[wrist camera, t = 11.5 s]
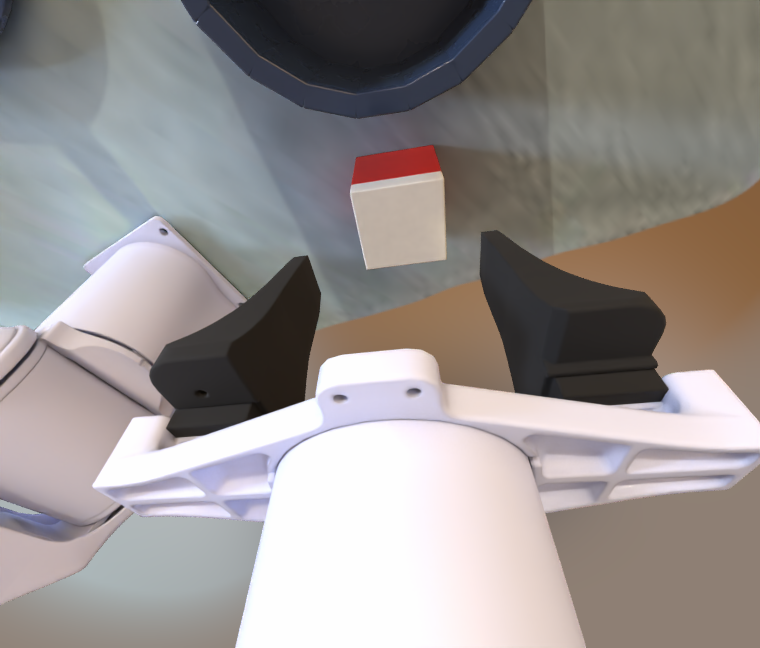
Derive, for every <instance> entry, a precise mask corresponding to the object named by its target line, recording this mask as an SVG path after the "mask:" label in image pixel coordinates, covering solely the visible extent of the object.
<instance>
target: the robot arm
mask: <svg viewBox="0 0 760 648" xmlns="http://www.w3.org/2000/svg"><path fill="white" fill-rule="evenodd" d="M163 229H166V230H167V231H168V233H167V232H165V231H164V230H163ZM84 269H85V270H86V271H87V272H88V273H89V274H91V275H92V276H91V277H90V278H89V279H88V280H87V281H86V282H85V283H84V284H82V285H81V286H80V287H79V288H78V289H77V290H76V291H75V292H74V293H73V294H72V295H71V296H70V297H69V298H68V299H67V300H66V301H65V302H64V303H62V304H61V305H60V306H59V307H58V308H57V309H56V310H55V311H54V312H53V313H52V314H51V315H50V316H49V317H48V318H47V319H46V320H45V321H44V322H42V323H41V324H40V325H39V326H38V327H37V328H36V329H35V330H32V329H31V328H29V327H27V326H24V325H18V326H14V327H0V499H1V500H4V501H7V502H10V503H13V504H16V505H19V506H21V507H24V508H27V509H30V510H33V511H36V512H39V513H41V514H34V515H32V514H24V513H18V512H15V511H12V510H9V509H6V508H2V507H0V605H2V604H4V603H6V602H9V601H11V600H13V599H15V598H18V597H21V596H23V595H25V594H28V593H30V592H33V591H35V590H37V589H40V588H43V587H45V586H48V585H50V584H52V583H55V582H57V581H59V580H62V579H64V578H66V577H68V576H71V575H73V574H75V573H77V572H79V571H81V570H82V569H84V568H85V567H86V566H87V565H88V563H89V562H90V561H91V559H92V558H93V557H94V555H95V554H96V553H97V552H98V550H99V549H100V548H101V547H102V545H103V544H104V543H105V541H107V539H108V538H109V537H110V536H111V535H112V534H113V533H114V531H115V530H116V529H117V528H118V527H119V526H120V525H121V524H122V523H123V522H124V521H125V520H126V519H128V518H129V517H130V516H131V515H132V514H133V513H136V514H138V515H139V516H141V517H154V516H155V517H159V516H177V517H181V516H182V517H202V518H217V519H230V520H242V521H254V522H265V523H264V527H263V531H262V535H261V540H260V544H259V548H258V553H257V557H256V561H255V566H254V570H253V574H252V579H251V583H250V587H249V592H248V596H247V600H246V605H245V609H244V614H243V617H242V622H241V627H240V630H239V635H238V639H237V643H236V648H586V645H585V642H584V639H583V635H582V632H581V629H580V626H579V622H578V619H577V616H576V612H575V609H574V606H573V603H572V599H571V596H570V593H569V589H568V586H567V583H566V580H565V576H564V573H563V570H562V567H561V563H560V560H559V557H558V554H557V550H556V547H555V544H554V540H553V537H552V534H551V531H550V527H549V524H548V521H547V518H546V515H545V513H551V512H557V511H562V510H570V509H576V508H582V507H588V506H594V505H600V504H606V503H613V502H619V501H625V500H631V499H638V498H645V497H652V496H659V495H668V494H677V493H687V492H699V491H713V490H714V491H715V490H728V489H730V488H731V487H733V486H734V485H735V484H736V483H737V482H739V481H740V480H741V479H742V478H744V477H745V476H746V475H747V474H748V473H750V472H751V471H752V470H753V469H754V468H756V467H757V466H758V465H759V464H760V422H759V421H758V420H757V419H756V418H755V416H754V415H753V414H752V413H751V412H750V411H749V410H748V409H747V407H746V406H745V405H744V404H743V403H742V402H741V400H740V399H739V398H738V397H737V396H736V395H735V394H734V393H733V391H732V390H731V389H730V388H729V387H728V386H727V384H726V383H725V382H724V381H723V380H722V379H721V378H720V376H718V374H717V373H716V372H715V371H714V370H697V371H686V372H674V373H670V374H667V375H665V376H663V377H662V378H661V377H660V376H659V375H658V373H657V372H656V370H655V368H657V366H658V364H657V361H656V360H655V359H654V357H653V356H652V353H653V351H654V349H655V347H656V345H657V343H658V342H659V340H660V338H661V336H662V334H663V332H664V329H665V326H666V319H665V316H664V314H663V313H662V311H661V310H660V309H659V308H658V306H657V305H656V304H655V303H654V302H653V301H652V300H651V299H650V297H649V296H648V295H647V294H646V293H645V292H640V291H635V290H629V289H623V288H618V287H613V286H609V285H605V284H601V283H597V282H593V281H590V280H587V279H584V278H581V277H578V276H575V275H572V274H570V273H567V272H565V271H562V270H560V269H558V268H556V267H554V266H551V265H550V264H548V263H545V262H543V261H542V260H540V259H539V258H537V257H535V256H534V255H532V254H530V253H529V252H527V251H526V250H524V249H523V248H521V247H520V246H518V245H517V244H516V243H514V242H513V241H512V240H510V239H509V238H507V237H506V236H505V235H503V234H502V233H501V232H499V231H498V230H494V231H487V232H481V256H480V278H481V282H482V287H483V290H484V294H485V297H486V300H487V302H488V305H489V307H490V310H491V312H492V315H493V317H494V320H495V322H496V325H497V327H498V330H499V332H500V335H501V338H502V341H503V345H504V349H505V352H506V356H507V360H508V364H509V368H510V372H511V376H512V381H513V385H514V390H515V393H512V392H505V391H497V390H490V389H482V388H474V387H467V386H460V385H453V384H445V383H442V381H441V379H440V372H439V365H438V363H437V361H436V359H435V357H434V356H433V355H431V354H429V353H427V352H425V351H423V350H420V349H408V348H406V349H397V350H385V351H375V352H365V353H355V354H345V355H340V356H336V357H333V358H330V359H327V361H326V362H325V363H324V364H323V365H322V366H321V367H320V372H319V377H318V383H317V389H316V397H315V398H312V399H309V400H306V401H305V390H306V378H307V370H308V361H309V355H310V351H311V346H312V342H313V338H314V334H315V330H316V326H317V321H318V317H319V312H320V300H321V292H320V289H319V286H318V284H317V281H316V278H315V275H314V272H313V269H312V266H311V263H310V260H309V257H308V255H307V256H300V257H294V258H293V259H291V260H290V261H289V262H288V263H287V264H286V265H285V266H284V267H283V268H282V269H281V270H280V271H279V272H278V273H277V274H276V275H275V276H274V277H273V278H272V279H271V280H270V281H269V282H268V283H267V284H266V285H265V286H264V287H263V288H261V289H260V290H259V291H258V292H257V293H256V294H255V295H254V296H252V297H251V298H250V299H249V300H247V299H246V298H245V297H244V296H243V295H242V294H241V293H240V292H239V291H238V290H237V289H236V288H235V287H234V286H233V285H231V284H230V283H229V282H228V281H227V280H226V279H225V278H224V277H223V276H222V275H221V274H220V273H219V272H218V271H217V270H216V269H215V268H214V267H213V266H212V265H211V264H210V263H209V262H208V261H207V260H206V259H205V258H204V257H203V256H202V255H201V254H200V253H199V252H198V251H197V250H196V249H195V248H193V247H192V246H191V245H190V244H189V243H188V242H187V241H186V240H185V239H184V238H183V237H182V236H181V235H180V234H179V233H178V232H177V231H176V230H175V229H174V228H173V227H172V226H171V225H170V224H169V223H168V222H167V221H166V220H165V219H163V218H162V217H159V216H155V217H152V218H151V219H149V220H148V221H147V222H145V223H144V224H142V225H141V226H139V227H138V228H136V229H135V230H133V231H132V232H130V233H129V234H127V235H126V236H125V237H123V238H122V239H120V240H119V241H117V242H116V243H114V244H113V245H111V246H110V247H108V248H107V249H105V250H104V251H103V252H101V253H100V254H98V255H97V256H95V257H94V258H92V259H91V260H89V261H88V262H87V263H86V264H85V265H84ZM240 303H243V304H240Z"/></svg>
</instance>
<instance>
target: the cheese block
mask: <svg viewBox="0 0 760 648" xmlns="http://www.w3.org/2000/svg"><path fill="white" fill-rule="evenodd" d="M350 196H351V201H352V206H353V210H354V215H355V219H356V224H357V229H358V233H359V238H360V242H361V247H362V252H363V256H364V261H365V265H366V269H367V270H369V269H377V268H385V267H393V266H401V265H409V264H417V263H425V262H433V261H441V260H446V259H447V250H446V220H445V191H444V177H443V174H442V171H441V168H440V165H439V162H438V159H437V155H436V152H435V149H434V146H433V145H429V146H423V147H417V148H410V149H404V150H398V151H392V152H386V153H380V154H374V155H367V156H361V157H357V158H356V162H355V167H354V173H353V178H352V184H351V190H350Z"/></svg>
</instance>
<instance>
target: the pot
mask: <svg viewBox="0 0 760 648" xmlns="http://www.w3.org/2000/svg"><path fill="white" fill-rule="evenodd" d="M181 2H182V3H183V5H184V6H185V8H186V9H187V11H188V13H189V14H190V16H191V17H192V19H193V20H194V22H196V24H197V26H198V27H199V28H200V29H201V30H202V31H203V32H204V33H205V34H206V35H207V36H208V37H209V38H210V39H211V40H212V41H213V42H214V43H215V44H216V45H217V46H218V47H219V48H220V49H221V50H222V51H223V52H224V53H225V54H226V55H227V56H228V57H229V58H230V59H231V60H232V61H233V62H234V63H235V64H236V65H237V66H238V67H239V68H240V69H241V70H242V71H243V72H244V73H245V74H246V75H247V76H250V77H251V78H252V79H253V80H255V81H257V82H259V83H260V84H262V85H264V86H266V87H267V88H269V89H271V90H273V91H274V92H276V93H278V94H280V95H281V96H283V97H285V98H287V99H288V100H290V101H292V102H294V103H295V104H297V105H299V106H301V107H303V106H304V108H306V109H311V110H316V111H320V112H325V113H330V114H335V115H340V116H345V117H350V118H357V119H360V118H366V117H373V116H379V115H386V114H392V113H399V112H405V111H409V110H412V109H414V108H416V107H418V106H420V105H422V104H423V103H425V102H427V101H429V100H431V99H433V98H435V97H436V96H438V95H440V94H442V93H444V92H446V91H448V90H449V89H451V88H453V87H455V86H457V85H459V84H461V83H462V82H463V81H464V80H465V79H466V78H467V77H468V76H469V75H470V74H471V73H472V72H473V71H474V70H475V69H476V68H477V67H478V66H479V65H480V64H481V63H482V62H483V61H484V60H485V59H486V58H487V57H488V56H489V55H490V54H491V53H492V52H493V51H494V50H495V49H496V48H497V47H498V46H499V45H500V44H501V43H502V42H503V41H504V40H505V39H506V38H507V37H508V36H509V35H510V34H511V33H512V30H514V29H515V28H516V26H517V24H518V23H519V21H520V20H521V18H522V16H523V15H524V13H525V11H526V10H527V8H528V6H529V5H530V3H531V2H532V0H181Z"/></svg>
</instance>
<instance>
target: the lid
mask: <svg viewBox="0 0 760 648" xmlns="http://www.w3.org/2000/svg"><path fill="white" fill-rule="evenodd" d="M12 2H13V0H0V34H1V32H2V31H3V29H4V28H5V26H6V23H7V20H8V17H9V15H10V12H11V9H12Z"/></svg>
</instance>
